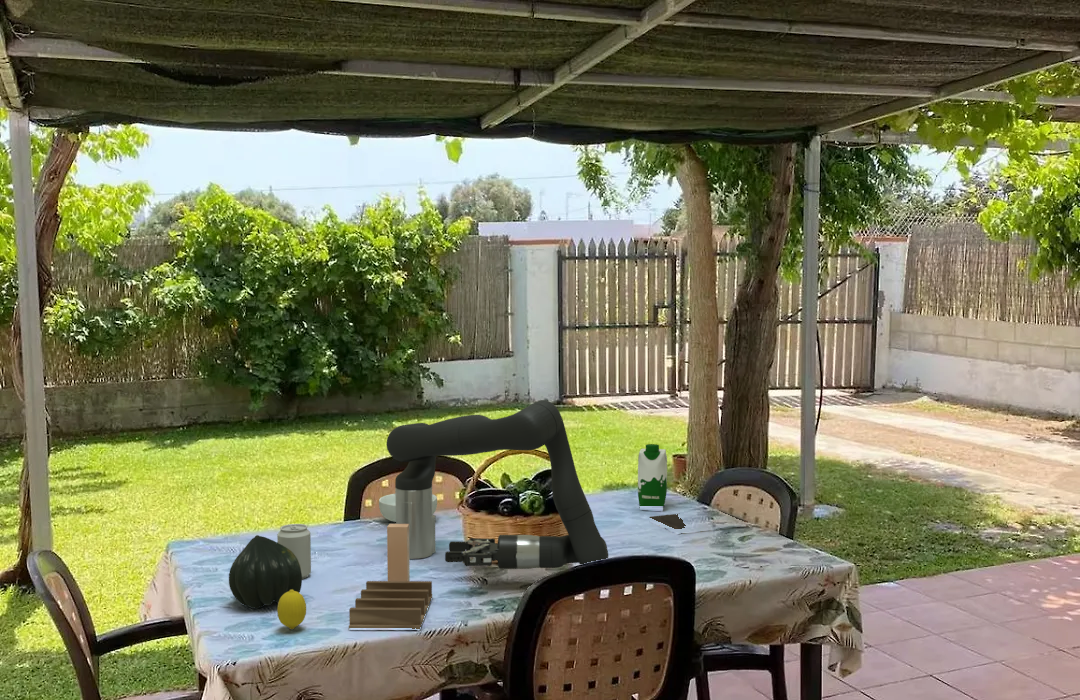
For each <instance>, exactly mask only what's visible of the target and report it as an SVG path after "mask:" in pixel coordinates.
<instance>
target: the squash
mask: <svg viewBox="0 0 1080 700" xmlns="http://www.w3.org/2000/svg"><path fill="white" fill-rule="evenodd" d="M302 584H303V579H302V573H301V567H300V564H299V561H298V559H297V557H296V556H295V554H294V553H293V552H292V551H291V550H289V549H288V548H286V547H285V546H283V545H281V544H279V543H277V541H275V540H273V539H270V538H268V537H266V536H263V535H258V534H257V535H255V536H254V537H252V539H251V540H250V541H249V542H248V543H247V544H246V545H245V547H244V548H243V549H242V551H241V552H240V553H239V554H238V555H237V556H236V558H235V559H234V561H233V562H232V564H231V567H230V569H229V574H228V585H229V589H230V591H231V593H232V595H233V597H234V598H235V600H237V602H238V603H240V604H241V605H243V606H246V607H249V608H252V609H261V608H262V607H264V606H270V605H272V604H273V602H274V603H277V604H278V603H279V600H280V598H281V597H282V595H283V594H285V593H286V592H289V591H290V590H294V591H296V592H299V593H301V590H302Z"/></svg>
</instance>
